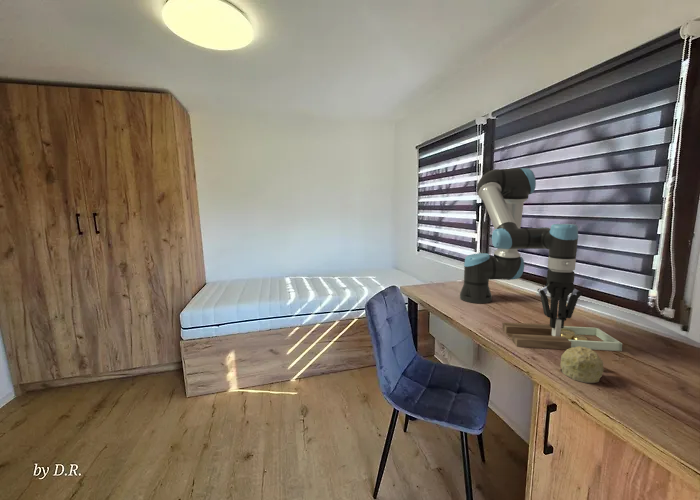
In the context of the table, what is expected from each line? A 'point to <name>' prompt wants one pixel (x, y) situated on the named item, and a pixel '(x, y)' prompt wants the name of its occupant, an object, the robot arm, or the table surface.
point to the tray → (595, 345)
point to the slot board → (535, 336)
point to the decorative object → (582, 364)
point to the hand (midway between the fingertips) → (555, 336)
